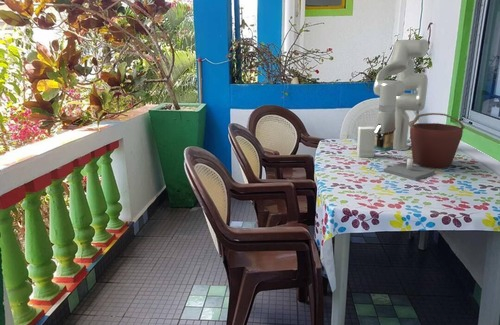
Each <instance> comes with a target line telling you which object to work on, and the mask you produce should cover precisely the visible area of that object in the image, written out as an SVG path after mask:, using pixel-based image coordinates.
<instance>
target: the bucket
mask: <svg viewBox="0 0 500 325" xmlns="http://www.w3.org/2000/svg"><path fill="white" fill-rule="evenodd" d="M425 116H426V117H427V116H445V117H447V118H450V119H452V120H454V121H456V122H457V123H458V124H459V125H460V126H461V127H459V126H458V125H452V124H444V123H439V122H433V123H431V122H426V123H425V122H422V123H421V122H419V123H417V122H418V120H419V118H420V117H425ZM408 124H409V134H410V135H409V138H410V146H411V156H412V157H411V159H413V164H414V165H416V166H417V165H418V167H422V168H427V169H435V170H436V169H437V170H439V169H440V170H441V169H446V168H450V167H451V166H452V164H453V161H454V158H455V156H456V154H457V151H458V148H459V145H460V142H461V140H462V139H463V133H464V131H463V130H464V129H465V127H466V126H465V125H464V123H462V122H461V120H459V119H457V118H455V117H453V116H451V115H449V114H446V113H439V112H428V113H419V114H417V115H416V116H415V118H414V119H413V120H411V121H410V120H409V123H408Z"/></svg>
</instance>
